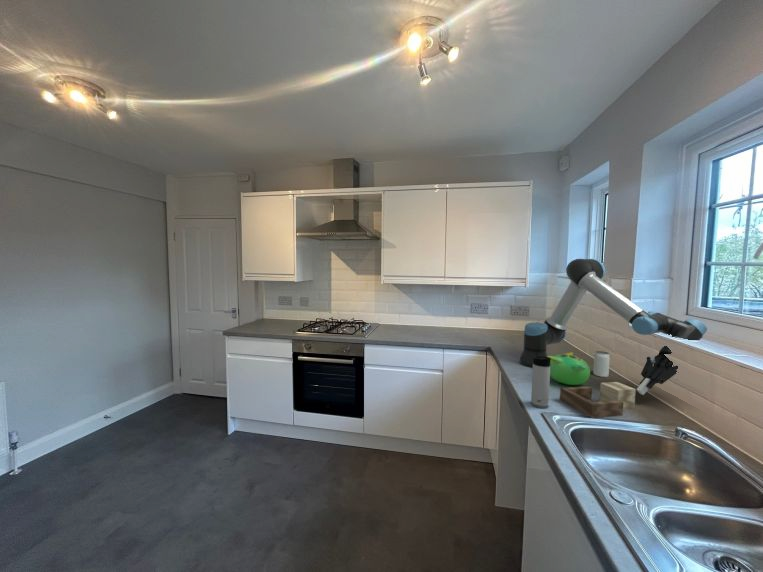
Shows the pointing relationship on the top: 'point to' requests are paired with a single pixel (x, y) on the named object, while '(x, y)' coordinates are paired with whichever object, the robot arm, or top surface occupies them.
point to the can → (601, 364)
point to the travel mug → (540, 382)
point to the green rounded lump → (569, 369)
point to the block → (618, 394)
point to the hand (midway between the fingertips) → (639, 392)
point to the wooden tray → (581, 402)
